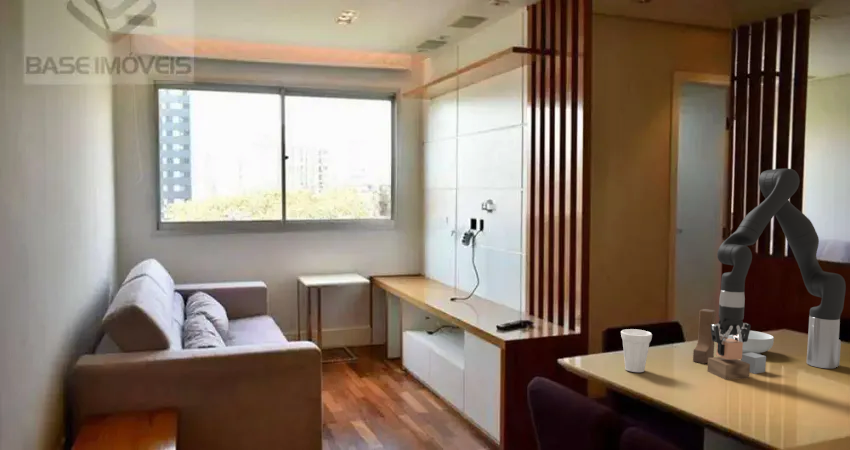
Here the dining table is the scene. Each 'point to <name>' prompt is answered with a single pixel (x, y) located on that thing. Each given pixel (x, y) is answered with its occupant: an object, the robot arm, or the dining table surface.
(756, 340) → the cereal bowl
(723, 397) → the dining table surface
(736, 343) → the terracotta cube
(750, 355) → the slate cube
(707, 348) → the wooden block
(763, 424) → the dining table surface
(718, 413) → the dining table surface
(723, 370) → the walnut base block
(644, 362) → the cup
